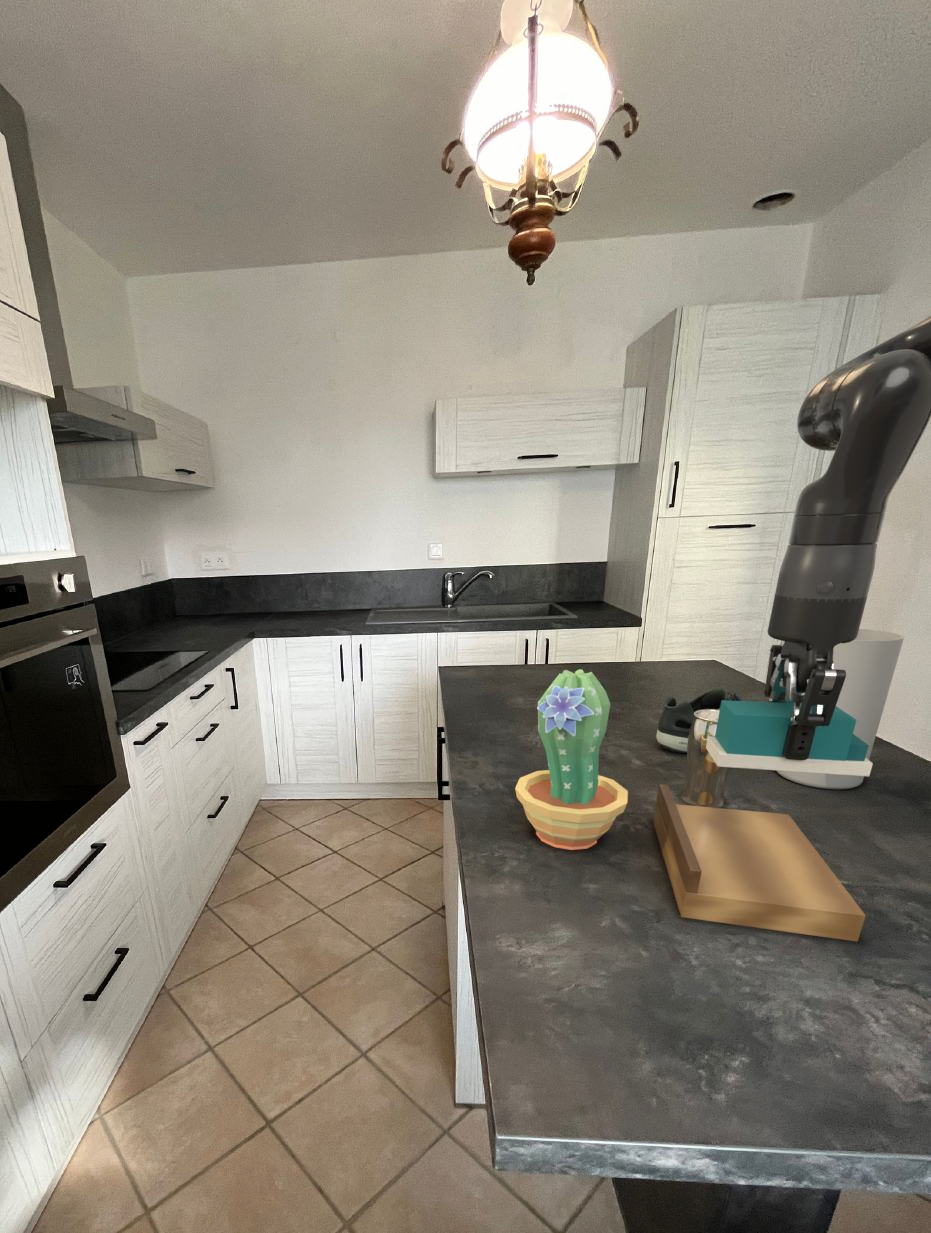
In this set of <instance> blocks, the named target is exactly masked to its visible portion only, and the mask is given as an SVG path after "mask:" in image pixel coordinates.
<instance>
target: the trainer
mask: <svg viewBox="0 0 931 1233" xmlns="http://www.w3.org/2000/svg"><path fill="white" fill-rule="evenodd" d="M800 707H801V704H800ZM823 708H824V705H823ZM822 711H823V709H822ZM810 713H811V714H812V707H811V710H810ZM789 718H790V704H788V703H777V702H768V701H748V700H741V701H725V700H722V701H721V706H720V711H719V717H718V723H717V728H716V734H715V737H711V736H708V738H707V744H706V749H707V750H708V752H709V754H710V755H711V757H712V758H713V760H714V761H715V763H716V765H717V766H719V767H732V768H735V769H749V770H750V769H751V770H767V771H776V770H779V771H794V772H809V773H824V774H839V775H854V776H864V777H870V775H871V772H872V769H873V762H872V761H871V760H870V759H869V760H868V759H867V758H865V757H866V754H867V750H868V746H869V745H868V744H866V743H865V742H864V741H862V740H861V739H859V738H858V737H857V736H855V735H854V734H853V732H854V728H855V724H856V719H854V718H853V717H851V716H850V715H849V714H847V713H846V712H844V711H843V710H841V709H840V708H838V707H837V706H836V707H835V710H834V713H833V715H832V718H831V721H830V724H829V726H820V727H816V729H815V733H814V738H813V742H812V746H811V750H810V754H809V757H808V759H806V760H789V759H786V758H785V757H784V756H783V754H782V753H783V748H784V744H785V739H786V735H787V731H788V726H789V724H790V722H789Z"/></svg>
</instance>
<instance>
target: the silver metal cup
mask: <svg viewBox="0 0 931 1233" xmlns="http://www.w3.org/2000/svg"><path fill="white" fill-rule="evenodd" d="M719 711H720V710H715V709H705V710H698V711H696V712H694V717H693V720H692V724H691V728H690V732H689V737H688V744H687V753H686V764H687V776H686V783H685V787H684V789H683V792H682V795H681V799H682V800H683V801H684V802H686V803H687V804H689V805H690V806H700V807H711V808H721V807H723V806H725V805H724V804H725V795H724V794H725V786H726V783H727V779H728V777H729V776H730V775H729V774H730V772H731V770H732V768H733V767H719V766H717V765H716V763H715V761H714V760H713V758H712V757H711V755H710V754H709V752H708V750H707V749H706V744H707V738H708V736H711V737H715V734H716V728H717V723H718V717H719Z"/></svg>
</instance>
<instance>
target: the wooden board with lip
mask: <svg viewBox="0 0 931 1233" xmlns="http://www.w3.org/2000/svg"><path fill="white" fill-rule="evenodd" d="M656 796H657V797H656V803H655V808H654V809H655V810H654V816H653V826H654V829H655V832H656V836H657V839H658V843H659V847H660V850H661V853H662V856H663V859H664V863H665V867H666V870H667V873H668V877H669V880H670V883H671V887H672V890H673V894H674V897H675V901H676V904H677V907H678V911H679V913H680V917H681V918H686V919H692V920H699V921H706V922H715V923H723V924H728V925H736V926H742V927H748V928H749V927H750V928H757V929H765V930H772V931H779V932H784V933H785V932H786V933H792V934H793V933H794V934H801V935H808V936H813V937H814V936H815V937H823V938H829V939H836V940H845V941H850V942H851V941H852V942H859V938H860V935H861V932H862V929H863V927H864V922H865V921H866V920H865V919H866V914H865V913H864V911H863V910H862V909H861V907H860V906H859V905H858V904H857V902H856V900H854V898H853V897H852V895H851V894H850V893H849V891H848V890H847V889H846V887H845V886H844V885H843V884H842V882H841V881H840V880H839V879H838V877H837V876H836V875H835V873H834V872H833V871H832V869H831V868H830V867H829V865H828V864H827V862H826V861H825V860H824V859H823V858H822V856H821V854H820V853H819V852H818V851H817V849H816V848H815V847H814V845H813V844H812V843H811V842H810V841H809V839H808V837H807V836H806V835H805V834H804V832H803V831H802V830H801V829H800V827H799V826H798V825H797V823H796V822H795V821H794V819H793V818H792V817H791V815H790V814H789V813H788V814H787V813H777V812H765V811H754V810H743V809H733V808H732V809H731V808H724V807H723V808H721V807H718V808H711V807H700V806H694V805H690V804H689V805H687V804H677V803H676V802H675V800H674V797H673V794H672V791H671V789H670V786H669V785H668V784H662V783H661V784H659V785H658V790H657V795H656Z"/></svg>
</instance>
